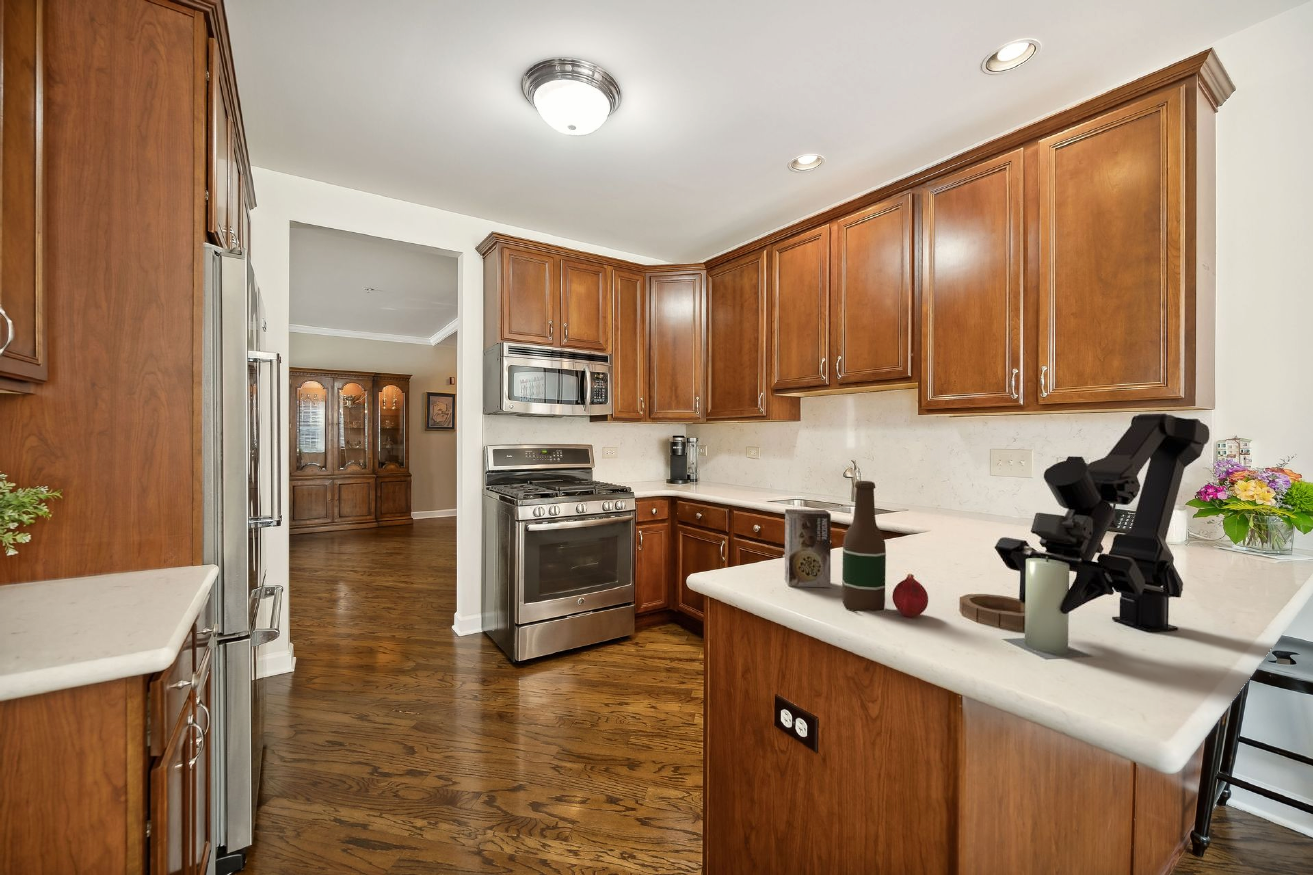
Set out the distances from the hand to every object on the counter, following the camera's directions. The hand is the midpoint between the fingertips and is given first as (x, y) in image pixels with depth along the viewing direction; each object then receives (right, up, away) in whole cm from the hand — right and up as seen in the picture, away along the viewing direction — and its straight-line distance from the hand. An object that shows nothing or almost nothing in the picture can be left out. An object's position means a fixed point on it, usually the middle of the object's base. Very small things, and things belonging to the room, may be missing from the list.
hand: (1041, 606), depth 83 cm
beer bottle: (-19, -7, +21) cm, 29 cm away
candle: (+1, -6, +1) cm, 7 cm away
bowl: (+3, -7, +15) cm, 17 cm away
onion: (-13, -7, +15) cm, 21 cm away
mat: (+1, -7, +1) cm, 7 cm away
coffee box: (-25, -7, +38) cm, 46 cm away
